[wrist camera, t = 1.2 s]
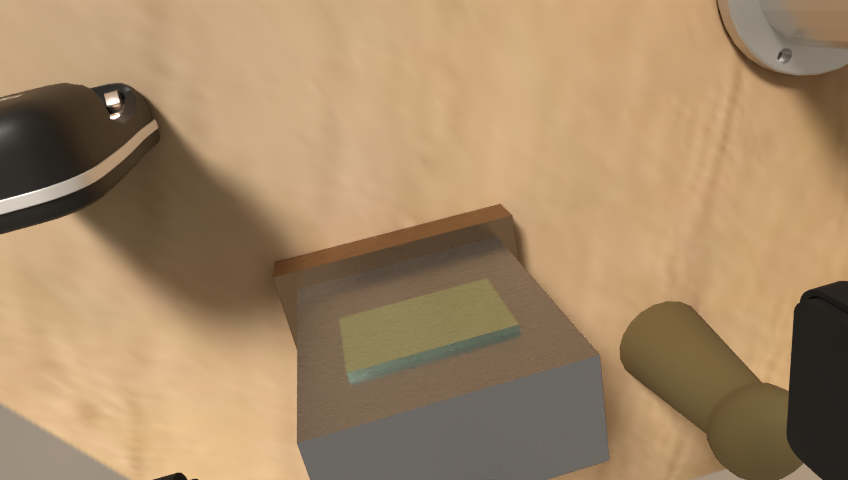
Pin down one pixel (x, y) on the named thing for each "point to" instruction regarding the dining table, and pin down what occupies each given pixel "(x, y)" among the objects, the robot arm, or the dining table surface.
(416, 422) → the grey unit
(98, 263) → the dining table surface
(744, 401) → the brown pepper mill
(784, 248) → the dining table surface
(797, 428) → the robot arm
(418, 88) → the dining table surface
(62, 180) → the battery charger
